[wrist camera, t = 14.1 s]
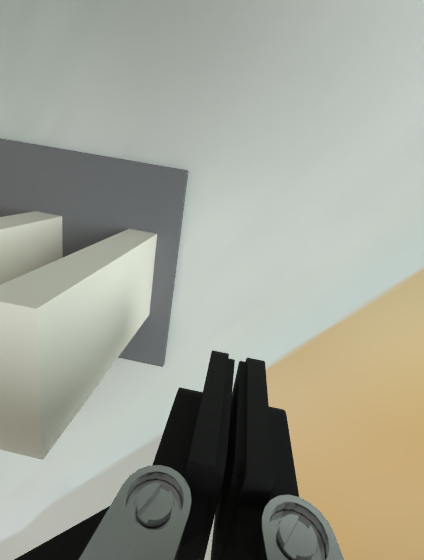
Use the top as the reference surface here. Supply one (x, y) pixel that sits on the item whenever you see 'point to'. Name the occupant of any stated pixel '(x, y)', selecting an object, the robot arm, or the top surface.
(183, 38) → the top surface
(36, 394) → the domino
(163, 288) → the mat
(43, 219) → the domino
